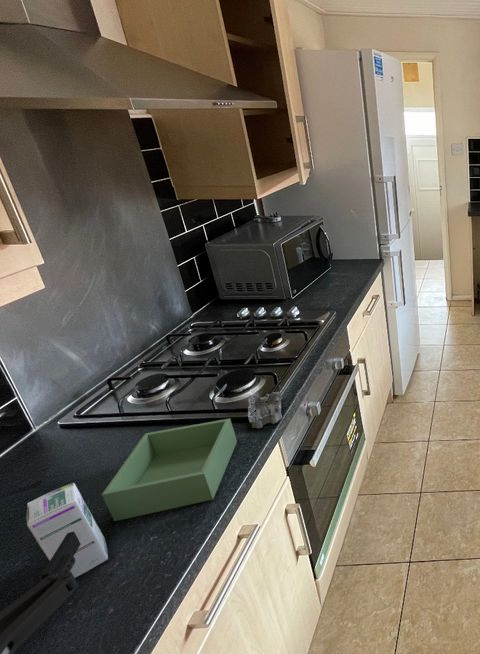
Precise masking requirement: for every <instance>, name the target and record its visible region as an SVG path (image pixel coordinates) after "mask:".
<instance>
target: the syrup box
mask: <svg viewBox="0 0 480 654" xmlns="http://www.w3.org/2000/svg"><path fill="white" fill-rule="evenodd" d="M26 507H27V508H26V509H27V510H26V526H27V528H28V530H29V531H30V532H31V534H32V535H33V537H34V539H35V540H36V542H37V543H38V545H39V547H40V548H41V550H42V552H43V553H44V555H45V556H46V558H47V560H48V562H49V561H50V560H51V558H52V557H53V555H54V554H55V552H56V550H57V549H58V547H59V546H60V544H61V542H62V541H63V539H64V538H65V536H66V535H67V533H70V532H73V531H74V532H75V534H76V536H77V538H78V540H79V542H80V544H81V545H80V546H79V548H78V550H77V551H76V553H75V555H74V558H75V563H74V565H73V567H72V568H71V570H70V572H72V574H73V576H74V578H75V579H76V578H77V577H79V576H81V575H83V574H85V573H87V572H89V571H90V570H92V569H94V568H95V567H97V566H100V564H103V563H104V562H106V561H108V559H109V555H108V547H107V542H106V537H105V535H104V534H103V533H102V530H101V529H100V527H99V525H98V524H97V523H98V522H96V520H95V517H94V516H93V514H92V512H91V511H90V509H89V507H88V505H87V503H86V501H85V500H84V498H83V496H82V494H81V492H80V491H79V489H78V487H77V485H76V484H75V482H71V483H68V484H65V485H64V486H61V487H58V488H56V489H54V490H51V491H50V492H46V493H44V494H43V495H41V496H39V497H37V498H35V499H32V500H31V501H29V502H27V505H26Z"/></svg>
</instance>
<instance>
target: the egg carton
mask: <svg viewBox="0 0 480 654" xmlns="http://www.w3.org/2000/svg"><path fill="white" fill-rule="evenodd" d="M272 397H274V398H272ZM270 398H272V399H270ZM269 399H270V400H269ZM268 400H269V401H268ZM258 401H260V402H266V401H268V402H267V403H260V402H259V403H256V402H258ZM255 403H256V404H255ZM247 405H248V407H247V418H248V421H249V424H251V428H252V429H261V428H263V427H264V426H265V425H266V424H276V423H278V422H279V421H280V420H282V419H283V415H282V394H281V391H276V392H274V391H273V392H272V393H266V394H265V396H263V397H261V396H260V395H257V394H256V395H251V394H250V395H248V404H247ZM255 410H256V412H254V411H255ZM252 412H254V413H252Z"/></svg>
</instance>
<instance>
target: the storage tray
mask: <svg viewBox="0 0 480 654" xmlns="http://www.w3.org/2000/svg"><path fill="white" fill-rule="evenodd" d="M237 443H238V441H237V437H236V434H235V430H234V427H233V424H232V420H231V418H225V419H219V420H214V421H208V422H207V421H206V422H202V423H196V424H191V425H185V426H179V427H173V428H168V429H163V430H157V431H150V432H146V433H144V434H143V436H142V437H141V438H140V440H139V442H138V443H137V444H136V445H135V447H134V449H133V450H132V451H131V453H130V454H129V455H128V457H127V458H126V460H125V461H124V462H123V464H122V466H121V467H120V468H119V469H118V471H117V472H116V474H115V475H114V477H113V478H112V479H111V481H110V482H109V484H108V485H107V487H106V488H105V489H104V490H103V492H102V493H101V497H102V498H103V500H104V503H105V505H106V508H107V509H108V511H109V514H110V515H111V517H112V519H113V521H114V522H118V521H123V520H126V519H131V518H135V517H140V516H144V515H145V516H146V515H149V514H154V513H159V512H163V511H167V510H172V509H177V508H181V507H186V506H190V505H195V504H198V503H199V504H200V503H203V502H208V501H212V500H214V498H215V496H216V494H217V491H218V489H219V487H220V485H221V481H222V479H223V477H224V475H225V472H226V470H227V467H228V464H229V462H230V460H231V458H232V455H233V452H234V451H235V448H236V445H237Z"/></svg>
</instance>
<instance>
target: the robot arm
mask: <svg viewBox="0 0 480 654" xmlns="http://www.w3.org/2000/svg"><path fill="white" fill-rule="evenodd" d="M80 545H81V544H80V542H79V540H78V538H77V536H76V534H75V532H74V531H73V532H70V533H67V535H66V536H65V538H64V539H63V541H62V542H61V544H60V546H59V547H58V549H57V550H56V552H55V554H54V555H53V557H52V558H51V560H50V561H49V560H48V563H47V565H46V566H45V568H44V569H43V571H42V572H41V574H40V577H41V579H42V580H41V581H39V582H38V583H36V584H35V585H34V586H33V587H31V588H30V589H29V590H28V591H25V592H24V593H23V594H22V595H21V596H20V597H18V598H17V599H15V600H14V601H13V602H12V603H10V604H9V605H8V606H6V607H5V608H4V609H3V610H1V611H0V654H15V653H16V651H17V650H18V649H19V648H20V647H21V646H22V645H23V644H24V643H25V642H26V641H27V640H28V639H29V638H30V637H31V636H32V635H33V634H34V633H35V632H36V630H38V628H40V627H41V626H42V624H43V623H44V622H45V621H46V620H47V619H48V618H49V617H51V616H52V614H54V612H56V611H57V610H58V609H59V608H60V606H61V605H63V603H64V602H65V601H66V600H67V599H68V598H69V597H70V596H71V595H72V594H73V593H74V592H75V591H76V590H77V589H78V588H79V583H78V581H77V579H76V578H74V576H73V574H72V572H70V570H71V568H72V567H73V565H74V563H75V558H74V555H75V553H76V551H77V550H78V548H79V546H80Z"/></svg>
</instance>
